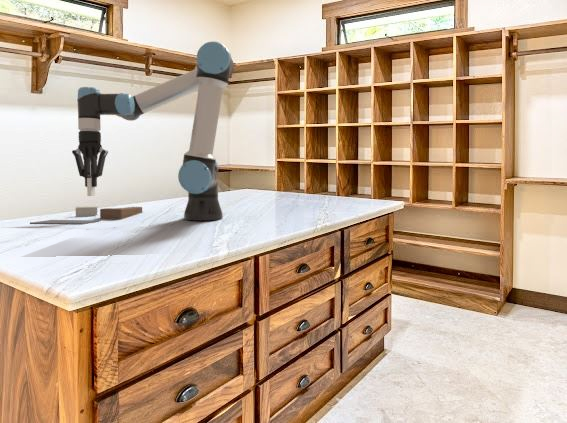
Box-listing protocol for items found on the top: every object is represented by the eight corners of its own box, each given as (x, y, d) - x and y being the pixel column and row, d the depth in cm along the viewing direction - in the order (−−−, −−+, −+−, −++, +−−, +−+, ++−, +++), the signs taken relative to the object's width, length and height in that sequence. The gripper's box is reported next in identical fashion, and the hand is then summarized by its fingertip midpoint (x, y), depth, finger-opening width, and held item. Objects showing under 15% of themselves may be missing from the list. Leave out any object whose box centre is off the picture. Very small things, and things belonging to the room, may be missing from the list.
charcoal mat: (100, 221, 181) (100, 220, 181) (82, 224, 168) (82, 223, 168) (51, 220, 183) (51, 219, 183) (29, 223, 171) (29, 222, 170)
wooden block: (99, 208, 186) (123, 206, 204) (99, 220, 186) (123, 217, 204) (120, 209, 184) (142, 206, 202) (121, 220, 185) (142, 217, 202)
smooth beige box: (97, 218, 201) (97, 206, 201) (97, 219, 194) (96, 207, 193) (77, 218, 198) (77, 206, 198) (75, 220, 191) (75, 207, 191)
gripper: (111, 132, 176) (112, 195, 177) (78, 132, 177) (80, 195, 179) (101, 129, 168) (103, 196, 170) (66, 130, 170) (68, 196, 171)
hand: (91, 195), depth 174 cm, fingers closed
